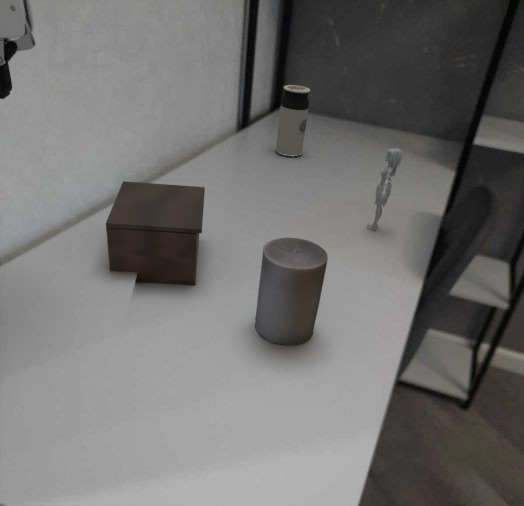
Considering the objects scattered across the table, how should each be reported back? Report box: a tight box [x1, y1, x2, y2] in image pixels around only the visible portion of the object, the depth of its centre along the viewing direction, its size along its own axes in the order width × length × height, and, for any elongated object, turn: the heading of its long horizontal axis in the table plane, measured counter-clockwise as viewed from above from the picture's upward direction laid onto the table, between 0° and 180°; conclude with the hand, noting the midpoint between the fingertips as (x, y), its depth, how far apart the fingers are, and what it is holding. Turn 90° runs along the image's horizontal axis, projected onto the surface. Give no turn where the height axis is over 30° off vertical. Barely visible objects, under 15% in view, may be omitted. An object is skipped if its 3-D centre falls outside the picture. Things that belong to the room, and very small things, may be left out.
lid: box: [105, 181, 206, 234], centre depth 92 cm, size 15×19×1 cm
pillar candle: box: [254, 237, 329, 346], centre depth 80 cm, size 10×10×15 cm
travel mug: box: [275, 84, 311, 155], centre depth 151 cm, size 8×8×18 cm
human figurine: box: [366, 147, 403, 231], centre depth 114 cm, size 12×4×18 cm, turn 163°
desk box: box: [105, 227, 200, 286], centre depth 95 cm, size 15×19×10 cm
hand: (0, 95), depth 69 cm, fingers closed
